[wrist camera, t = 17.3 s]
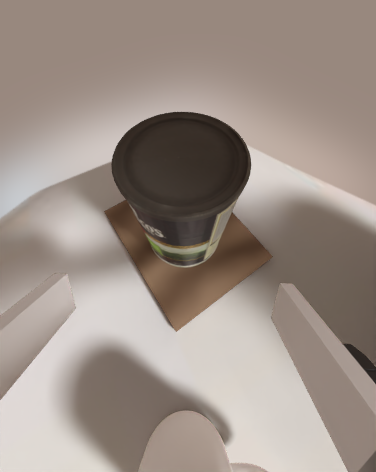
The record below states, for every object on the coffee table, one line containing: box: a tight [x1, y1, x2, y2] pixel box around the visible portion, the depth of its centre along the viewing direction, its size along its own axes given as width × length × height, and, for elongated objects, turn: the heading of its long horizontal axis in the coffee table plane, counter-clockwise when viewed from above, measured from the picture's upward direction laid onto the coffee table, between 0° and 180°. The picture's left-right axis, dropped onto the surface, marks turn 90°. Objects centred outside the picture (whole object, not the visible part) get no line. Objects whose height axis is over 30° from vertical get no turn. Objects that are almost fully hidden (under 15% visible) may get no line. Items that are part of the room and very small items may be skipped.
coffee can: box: [112, 112, 251, 267], centre depth 20 cm, size 10×10×14 cm
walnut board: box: [104, 200, 273, 332], centre depth 27 cm, size 20×16×1 cm
